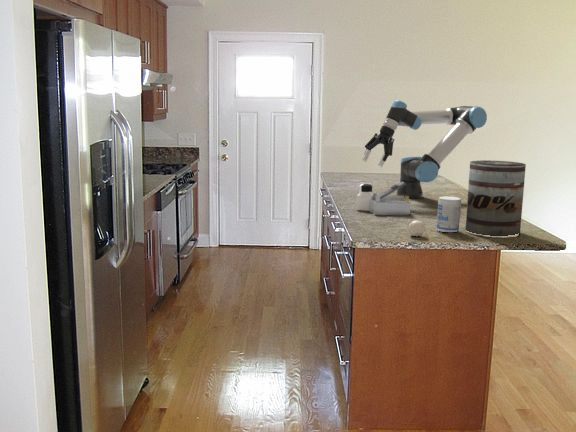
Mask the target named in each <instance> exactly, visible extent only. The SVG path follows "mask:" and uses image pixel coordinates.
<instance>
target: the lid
mask: <svg viewBox="0 0 576 432" xmlns="http://www.w3.org/2000/svg"><path fill="white" fill-rule="evenodd" d="M405 185H406V184H405V183H404V182H401V183H400V182H399V183H398V184H394V185H392V186H390V188H389V189H387V190H386V191H383V192H382V193H379V195H380V199H382V198H384V197H386V196H390V194H392V193H394V192H397V190H398V189H400V188H401V187H403V186H405ZM375 198H376V197H375Z"/></svg>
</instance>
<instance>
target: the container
mask: <svg viewBox="0 0 576 432" xmlns="http://www.w3.org/2000/svg"><path fill="white" fill-rule="evenodd" d="M358 192H359V193H358V194H356V200H355V201H356V204H355V207H356V208H355V210H356V211H367V212H369V203H370V200H372V196H373V184H370V183H361V184H359V189H358Z"/></svg>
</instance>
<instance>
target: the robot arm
mask: <svg viewBox="0 0 576 432" xmlns="http://www.w3.org/2000/svg"><path fill="white" fill-rule="evenodd" d="M407 106H408V104H407V103H406V102H404V101H403V100H400V99H399V100H398V99H395V100H394V101H393V102H392V104H391V106H390V109H389V111H388V112H387V115H386V117H385V118H384V119H385V120H384V121H383V123H382V126H381V128H380V129H379V133H374V135H373V136H372V138H370V140H369V141H368V142H367V143H366V144H365V145H364V148H365V151H364V154H363V157H362V159H361V160H362V161H363V162H365V163H366V162H368V159H369V157H370V154H371V153H372V150H373V149H374V148H375V147H377V146H379V145H380V144H381V145H383V151H384V153H383V154H382V156H381V158H380V159H379V162H378V164H377V165H378V166H379V167H380V168H383V166H384V165H385V162H386V161H387V159H388V158H389V156H390V157H391V156H393V151H394V148H393V147H394V141H395V139H394V137H393V136H394V134H395V131H396V130H397V128H398V126H399V127H407V128H410V129H412V130H414V131H417V130H418V129H420V128H421V127H422V125H435V124H436V125H437V124H446V125H448V126H451V125H452V127H451V129H450V130H449V131H448V132H447V133H446V134H445V135H444V136H443V138H442V139H441V140H439V142H438V143H437V144H436V145H435V147H433V149H432V150H430V152H428V153H425V154H423V155H422V157H421V156H403V157H402V158H401V159H400V176H399V179H400V180H399V183H401V182H404V183H405V184H406V185H405V186H403V187H401V188H400V189H398V190H396V195H395V196H404V199H405V196H409V199H420V198H423V197H424V192H423V188H422V185H421V183H431V182H433V181H434V180H436V179H437V177H438V175H439V170H440V169H441V163H443V162H444V160H446V158H447V157H448V156H449V155H450V154H451V153H452V152H453V150H455V148H457V146H458V145H459V144H460V143H461V142H462V141H463V140H464V138H465V137H466V136H468V135H470V134H473V133H474V132H475V131H476V129H480V128H482V127H484V126H485V124H486V123H487V119H488V118H487V117H488V115H487V111H486V110H485V109H484V108H483V107H482V106H478V105H474V106H472V105H469V106H468V105H461V106H457V107H456V106H455V107H447V108H445V109H442V110H441V109H439V110H438V109H437V110H420V111H410V110H409V109H407V108H408V107H407Z"/></svg>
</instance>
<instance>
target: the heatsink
mask: <svg viewBox="0 0 576 432" xmlns="http://www.w3.org/2000/svg"><path fill="white" fill-rule="evenodd" d="M372 194H373V196H372V200H370V203H369V211H368V212H369V213H371V214H372V215H374V216H384V215H385V216H391V215H392V216H393V215H394V216H397V215H399V216H405V215H407V216H408V215H409V214H410V215H411V202H410V198H409V196H405V198H404V196H396V195H387V196H386V197H384V198H382V199H380V194H378V193H377V192H372ZM375 197H376V198H375ZM410 215H409V216H410Z"/></svg>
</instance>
